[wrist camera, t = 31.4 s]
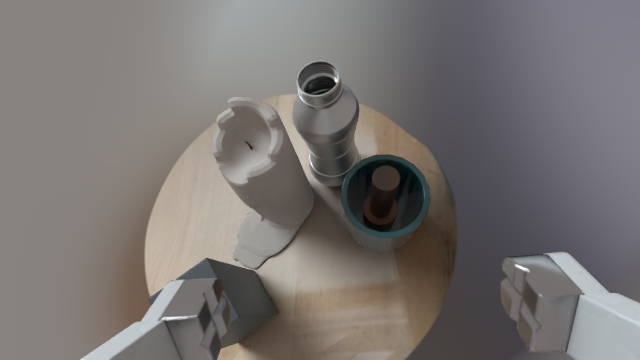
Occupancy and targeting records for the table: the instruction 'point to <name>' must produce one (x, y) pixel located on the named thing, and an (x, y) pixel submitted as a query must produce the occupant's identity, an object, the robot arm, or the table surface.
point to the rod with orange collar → (382, 199)
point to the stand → (235, 297)
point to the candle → (261, 178)
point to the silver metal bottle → (326, 121)
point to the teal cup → (408, 197)
